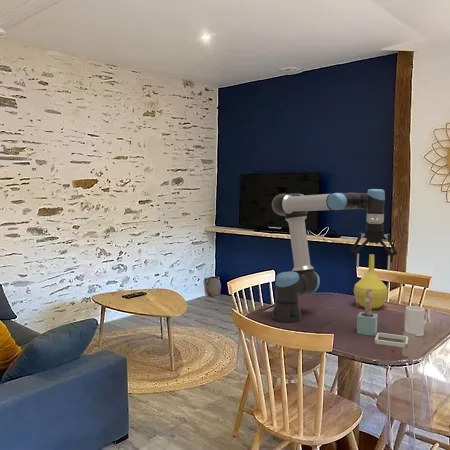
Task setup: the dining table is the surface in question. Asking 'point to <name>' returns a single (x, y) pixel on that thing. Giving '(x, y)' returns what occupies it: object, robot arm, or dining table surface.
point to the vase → (371, 287)
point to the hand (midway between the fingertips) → (372, 268)
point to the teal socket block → (367, 324)
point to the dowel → (368, 303)
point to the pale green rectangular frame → (391, 341)
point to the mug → (415, 320)
